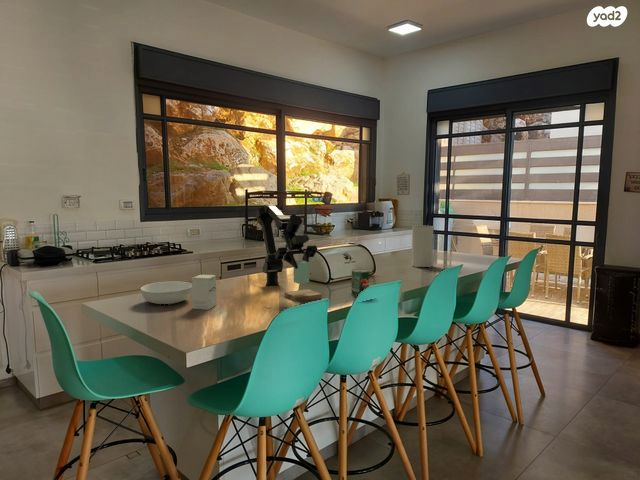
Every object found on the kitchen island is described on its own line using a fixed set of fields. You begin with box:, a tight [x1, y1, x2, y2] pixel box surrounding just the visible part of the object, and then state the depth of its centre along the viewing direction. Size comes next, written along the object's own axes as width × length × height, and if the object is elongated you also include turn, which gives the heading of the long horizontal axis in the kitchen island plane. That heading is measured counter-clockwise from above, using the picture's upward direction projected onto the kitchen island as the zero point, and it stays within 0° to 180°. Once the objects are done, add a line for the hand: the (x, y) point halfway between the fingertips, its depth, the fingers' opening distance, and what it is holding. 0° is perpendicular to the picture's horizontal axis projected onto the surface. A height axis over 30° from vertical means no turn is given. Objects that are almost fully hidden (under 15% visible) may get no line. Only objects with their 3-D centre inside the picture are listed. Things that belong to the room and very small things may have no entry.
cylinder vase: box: [411, 224, 434, 268], centre depth 276 cm, size 12×12×25 cm
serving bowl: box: [140, 280, 192, 305], centre depth 188 cm, size 21×21×7 cm
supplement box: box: [191, 274, 217, 311], centre depth 179 cm, size 7×7×13 cm
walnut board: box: [284, 288, 323, 303], centre depth 196 cm, size 12×12×2 cm
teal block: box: [293, 260, 310, 285], centre depth 194 cm, size 5×5×9 cm
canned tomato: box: [351, 268, 370, 297], centre depth 201 cm, size 8×8×11 cm
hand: (302, 267), depth 193 cm, fingers closed on teal block, 5 cm apart
